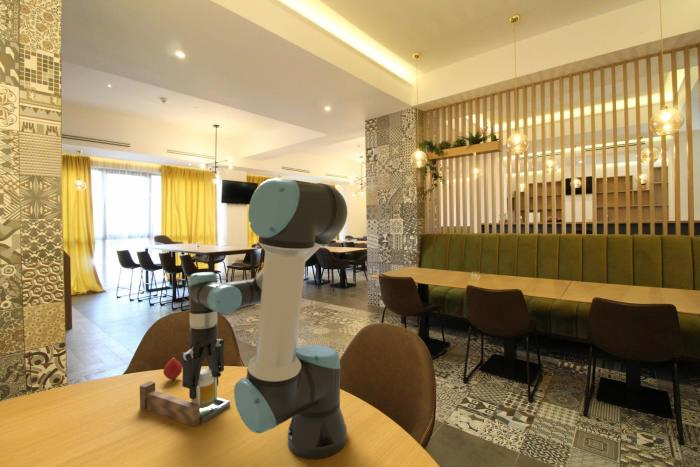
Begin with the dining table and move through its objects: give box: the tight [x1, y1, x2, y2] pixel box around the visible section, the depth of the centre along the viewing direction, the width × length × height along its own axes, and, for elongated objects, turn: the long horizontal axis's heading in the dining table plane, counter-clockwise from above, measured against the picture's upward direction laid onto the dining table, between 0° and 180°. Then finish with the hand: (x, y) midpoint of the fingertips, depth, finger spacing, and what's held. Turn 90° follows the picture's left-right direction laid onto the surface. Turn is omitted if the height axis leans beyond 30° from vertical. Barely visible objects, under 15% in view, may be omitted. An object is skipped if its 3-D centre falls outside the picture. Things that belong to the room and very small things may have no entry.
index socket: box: [199, 396, 231, 425], centre depth 97 cm, size 10×10×2 cm
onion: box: [163, 357, 183, 381], centre depth 116 cm, size 6×6×8 cm
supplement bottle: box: [198, 368, 214, 408], centre depth 97 cm, size 5×5×10 cm
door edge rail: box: [139, 380, 201, 428], centre depth 94 cm, size 22×3×7 cm, turn 65°
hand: (204, 402), depth 97 cm, fingers closed on supplement bottle, 5 cm apart
